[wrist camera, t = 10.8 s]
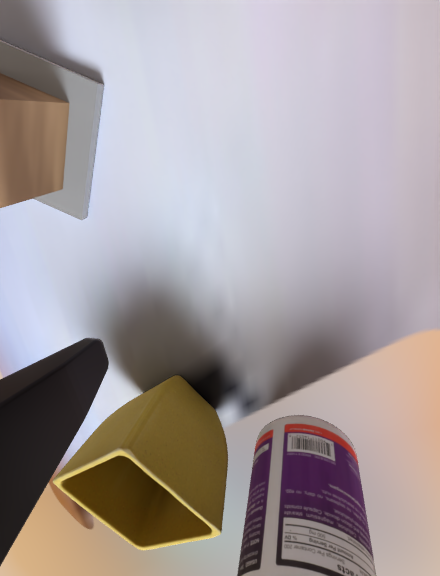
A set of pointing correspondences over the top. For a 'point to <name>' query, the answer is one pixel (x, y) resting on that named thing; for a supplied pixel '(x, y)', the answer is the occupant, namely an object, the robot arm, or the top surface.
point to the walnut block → (30, 142)
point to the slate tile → (80, 121)
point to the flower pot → (154, 469)
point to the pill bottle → (305, 504)
